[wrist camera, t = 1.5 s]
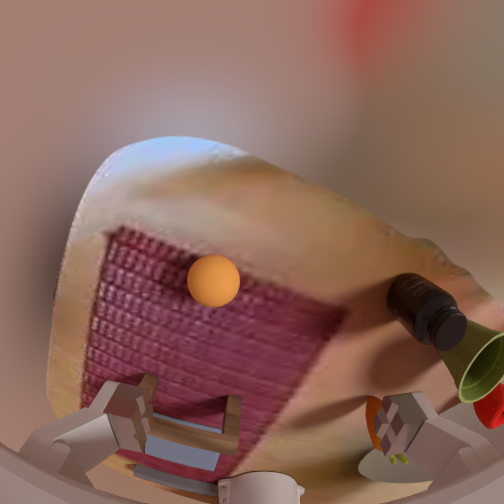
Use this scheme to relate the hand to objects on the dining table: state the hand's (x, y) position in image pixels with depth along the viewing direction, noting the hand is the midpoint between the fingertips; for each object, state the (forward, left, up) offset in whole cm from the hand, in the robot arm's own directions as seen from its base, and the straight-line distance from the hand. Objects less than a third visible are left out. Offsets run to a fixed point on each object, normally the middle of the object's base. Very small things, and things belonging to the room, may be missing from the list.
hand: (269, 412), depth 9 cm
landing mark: (-39, +4, -28) cm, 48 cm away
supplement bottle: (-2, -22, -28) cm, 35 cm away
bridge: (-25, +4, -28) cm, 37 cm away
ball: (-5, +4, -25) cm, 25 cm away
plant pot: (-7, -35, -28) cm, 45 cm away
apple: (-18, -53, -28) cm, 62 cm away
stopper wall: (-53, +4, -28) cm, 60 cm away
